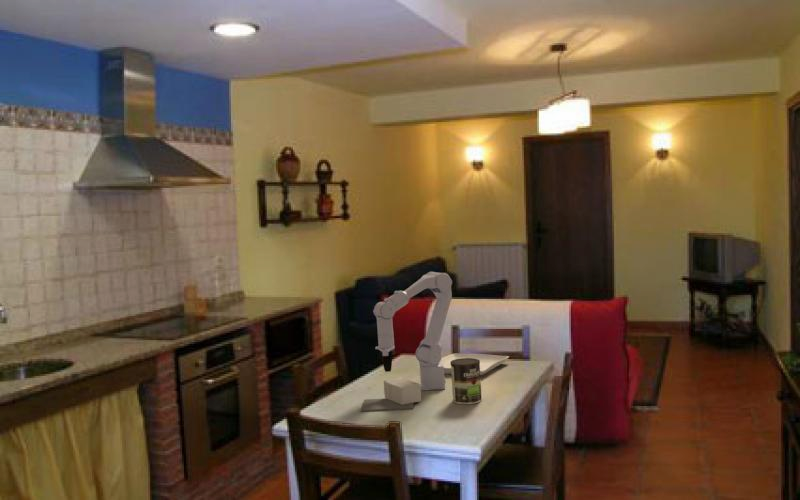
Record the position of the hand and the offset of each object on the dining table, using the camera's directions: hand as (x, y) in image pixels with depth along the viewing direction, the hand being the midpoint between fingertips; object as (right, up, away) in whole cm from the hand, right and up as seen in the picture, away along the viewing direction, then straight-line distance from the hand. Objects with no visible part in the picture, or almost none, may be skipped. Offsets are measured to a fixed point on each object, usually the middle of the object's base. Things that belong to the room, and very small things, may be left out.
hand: (388, 371), depth 266 cm
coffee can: (+28, -9, -11) cm, 31 cm away
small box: (+2, -6, -1) cm, 6 cm away
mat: (0, -10, -10) cm, 15 cm away
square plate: (+32, -5, +35) cm, 48 cm away
